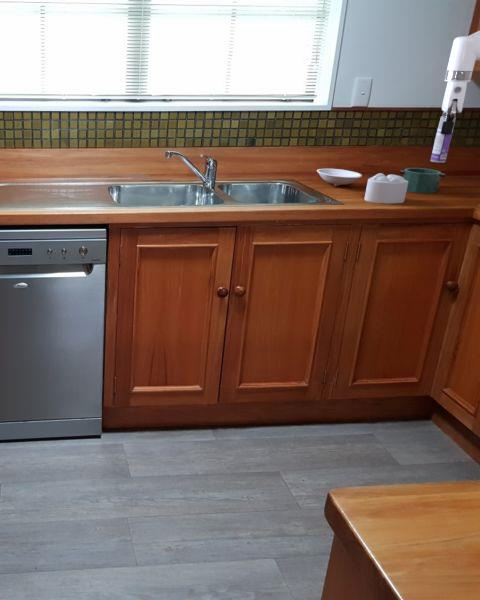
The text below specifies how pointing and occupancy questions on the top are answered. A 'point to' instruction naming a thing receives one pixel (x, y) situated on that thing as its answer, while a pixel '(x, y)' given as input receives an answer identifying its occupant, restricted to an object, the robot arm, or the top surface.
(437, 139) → the container
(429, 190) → the pot
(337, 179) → the dish
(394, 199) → the lumpy-topped squat cylinder
